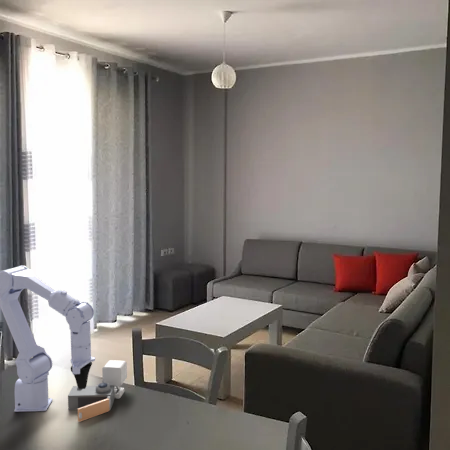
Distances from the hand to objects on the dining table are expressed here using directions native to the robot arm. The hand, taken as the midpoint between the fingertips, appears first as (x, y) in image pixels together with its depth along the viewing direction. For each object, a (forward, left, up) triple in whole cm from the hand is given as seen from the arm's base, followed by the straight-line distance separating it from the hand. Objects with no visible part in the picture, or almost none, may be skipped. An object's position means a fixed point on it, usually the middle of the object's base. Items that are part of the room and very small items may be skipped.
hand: (82, 387), depth 156 cm
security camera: (+7, +14, -9) cm, 18 cm away
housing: (+1, +7, -8) cm, 11 cm away
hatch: (+4, -1, -8) cm, 9 cm away
